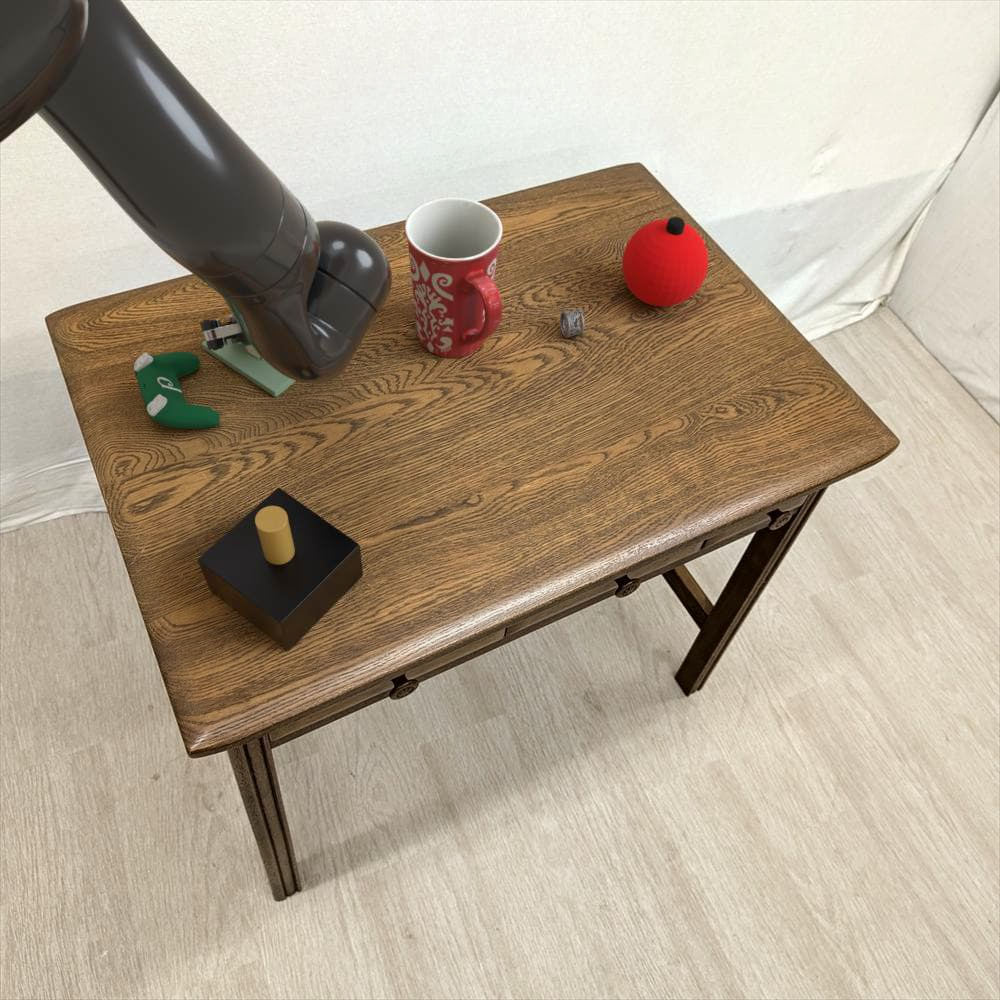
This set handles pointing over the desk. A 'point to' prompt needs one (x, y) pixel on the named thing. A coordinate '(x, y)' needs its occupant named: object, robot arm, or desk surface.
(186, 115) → the robot arm
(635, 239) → the ornament
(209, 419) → the gaming controller
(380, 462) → the desk surface
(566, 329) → the decorative ring
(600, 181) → the desk surface
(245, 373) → the mat
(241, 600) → the ring stand
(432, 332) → the mug
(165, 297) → the desk surface
